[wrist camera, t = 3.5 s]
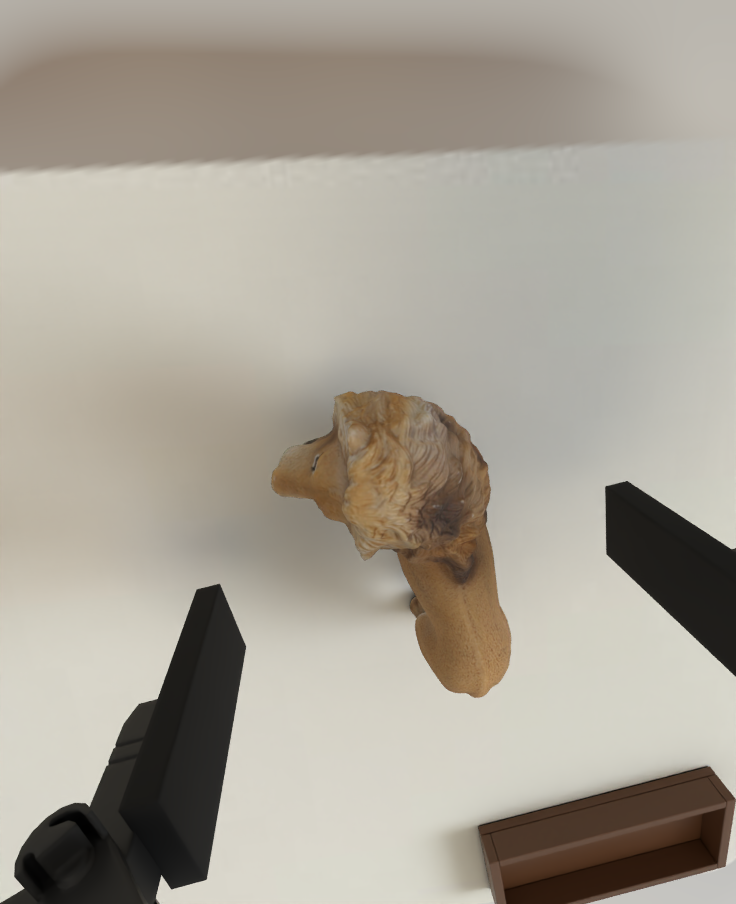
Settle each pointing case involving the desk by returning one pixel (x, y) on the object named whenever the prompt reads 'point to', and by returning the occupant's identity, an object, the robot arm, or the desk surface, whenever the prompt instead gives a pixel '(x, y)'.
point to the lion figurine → (414, 521)
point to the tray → (611, 842)
